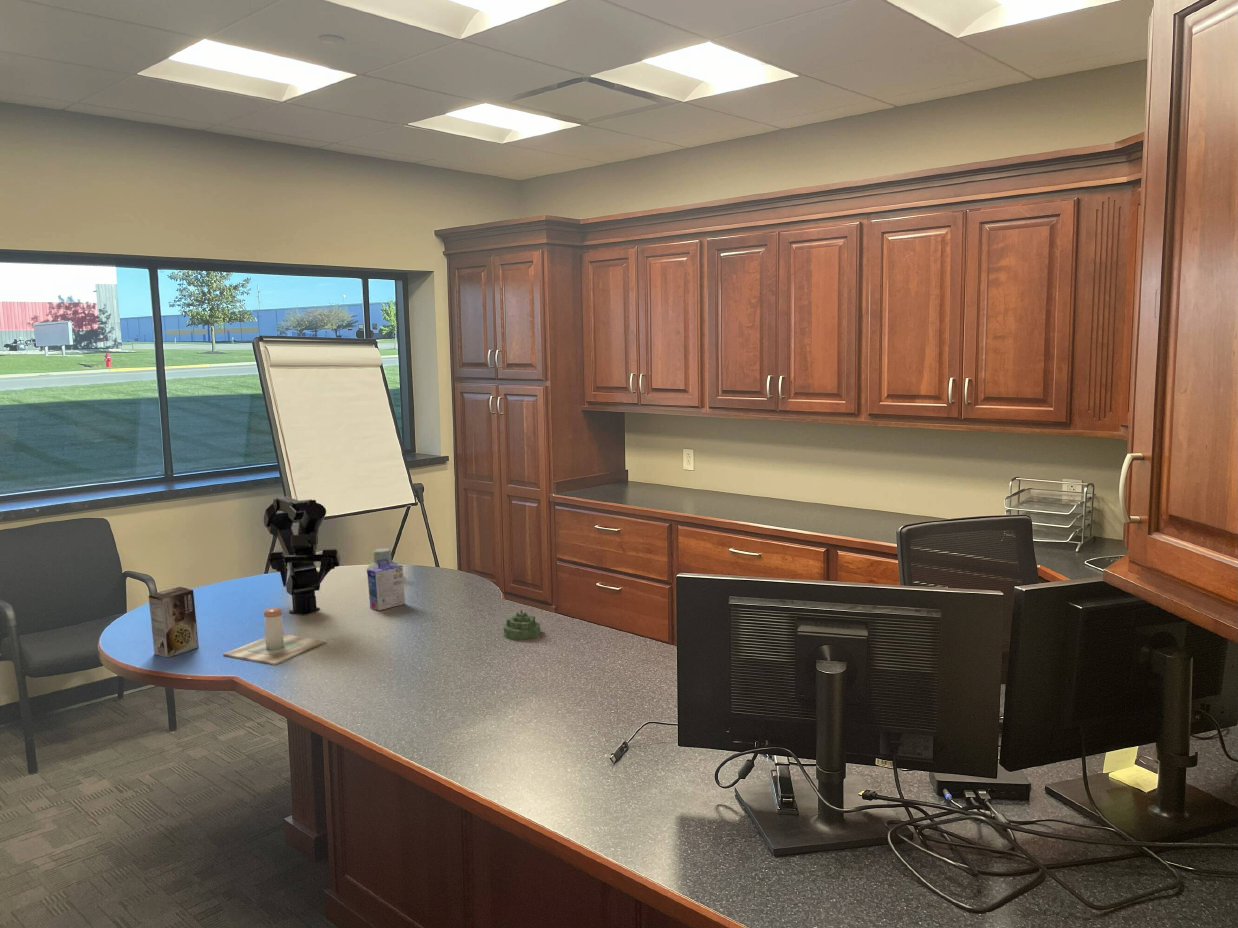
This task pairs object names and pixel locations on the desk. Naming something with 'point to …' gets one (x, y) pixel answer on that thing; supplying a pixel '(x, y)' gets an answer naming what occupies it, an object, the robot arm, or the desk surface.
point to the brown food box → (173, 621)
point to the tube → (273, 628)
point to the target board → (261, 654)
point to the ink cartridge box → (386, 585)
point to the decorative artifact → (521, 627)
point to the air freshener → (381, 557)
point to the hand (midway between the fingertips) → (301, 585)
